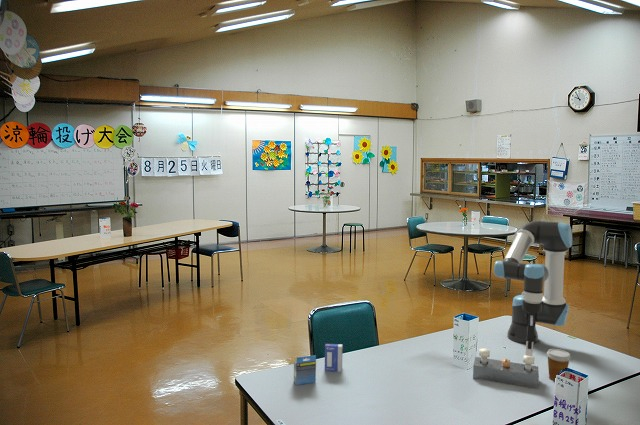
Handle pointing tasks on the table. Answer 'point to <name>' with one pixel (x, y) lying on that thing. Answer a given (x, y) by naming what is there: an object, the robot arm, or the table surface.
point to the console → (506, 373)
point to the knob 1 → (484, 355)
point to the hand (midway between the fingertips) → (528, 355)
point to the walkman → (333, 357)
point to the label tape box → (305, 370)
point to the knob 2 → (528, 362)
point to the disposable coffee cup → (557, 361)
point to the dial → (505, 363)
